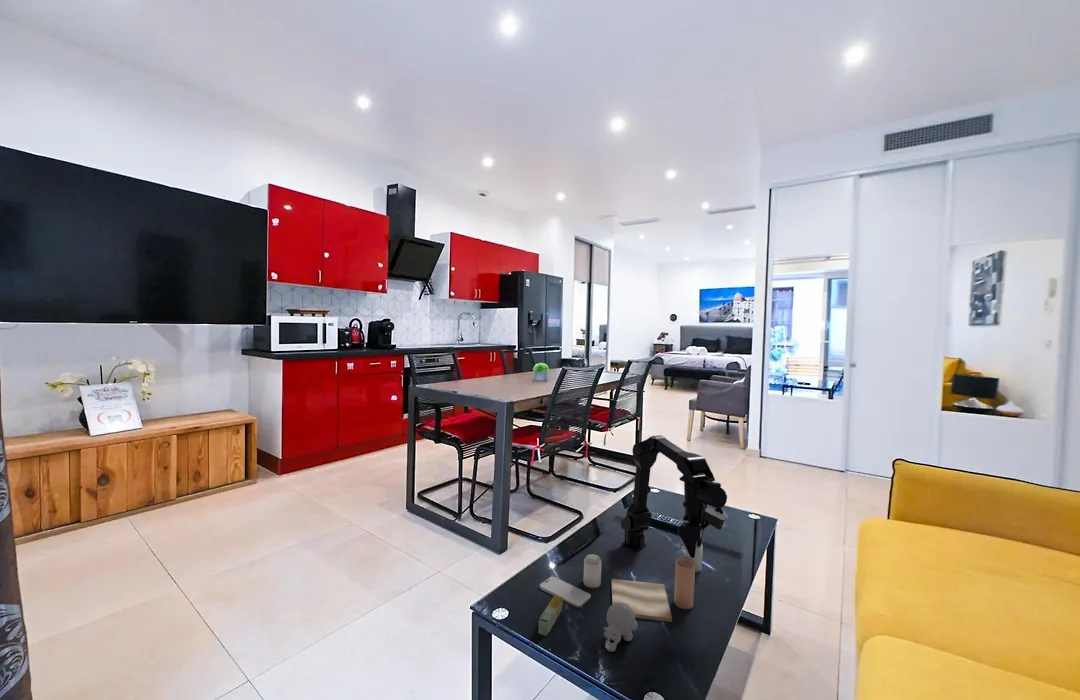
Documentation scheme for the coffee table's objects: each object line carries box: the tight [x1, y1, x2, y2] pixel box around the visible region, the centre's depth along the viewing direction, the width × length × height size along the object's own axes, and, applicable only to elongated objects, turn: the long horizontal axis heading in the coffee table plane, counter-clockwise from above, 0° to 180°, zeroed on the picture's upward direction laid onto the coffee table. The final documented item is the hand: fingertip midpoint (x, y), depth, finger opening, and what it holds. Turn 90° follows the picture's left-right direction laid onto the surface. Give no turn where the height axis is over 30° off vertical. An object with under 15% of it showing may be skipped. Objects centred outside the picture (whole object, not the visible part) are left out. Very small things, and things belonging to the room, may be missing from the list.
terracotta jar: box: [673, 555, 696, 610], centre depth 127 cm, size 5×5×13 cm
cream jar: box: [582, 553, 602, 589], centre depth 137 cm, size 5×5×8 cm
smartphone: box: [539, 575, 592, 608], centre depth 132 cm, size 7×1×15 cm
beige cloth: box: [611, 578, 673, 623], centre depth 128 cm, size 16×16×1 cm
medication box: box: [537, 595, 564, 636], centre depth 118 cm, size 12×3×4 cm, turn 157°
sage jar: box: [684, 543, 704, 573], centre depth 147 cm, size 5×5×9 cm
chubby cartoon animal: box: [603, 602, 639, 653], centre depth 111 cm, size 7×12×8 cm, turn 141°
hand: (695, 551), depth 130 cm, fingers open, 9 cm apart
